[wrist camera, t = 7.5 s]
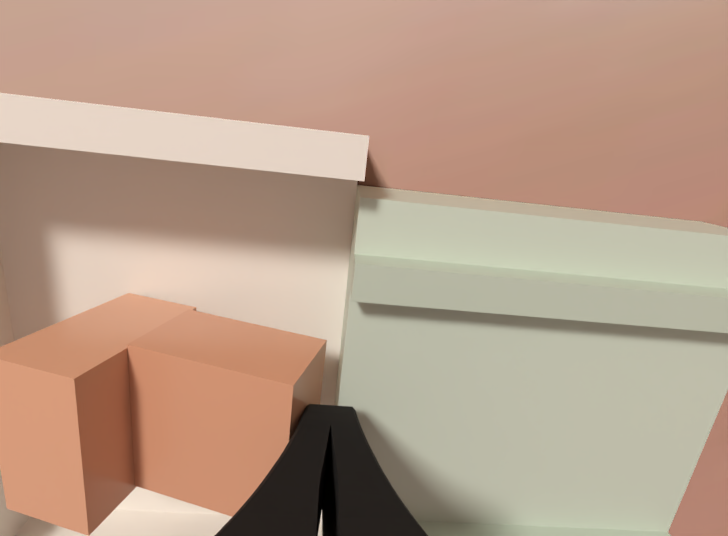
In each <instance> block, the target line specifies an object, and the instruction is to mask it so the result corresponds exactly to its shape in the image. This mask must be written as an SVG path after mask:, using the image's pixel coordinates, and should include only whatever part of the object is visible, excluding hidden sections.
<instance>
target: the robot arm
mask: <svg viewBox="0 0 728 536" xmlns="http://www.w3.org/2000/svg"><path fill="white" fill-rule="evenodd" d="M321 511H322V531H323V536H428V535H427V534H426V532H425V531H424V530H423V529H422V527H421V526H420V525H419V523H418V522H417V521H416V520H415V518H414V517H413V516H412V514H411V513H410V512H409V510H408V509H407V507H406V506H405V505H404V503H403V502H402V500H401V499H400V497H399V496H398V494H397V493H396V491H395V490H394V488H393V487H392V485H391V483H390V482H389V480H388V478H387V477H386V475H385V473H384V472H383V470H382V468H381V466H380V465H379V463H378V461H377V459H376V457H375V455H374V453H373V451H372V449H371V447H370V445H369V443H368V441H367V439H366V437H365V434H364V432H363V430H362V427H361V425H360V422H359V419H358V416H357V413H356V410H355V409H354V408H353V407H351V406H335V405H320V404H309V405H307V406H306V408H305V409H304V412H303V415H302V418H301V420H300V422H299V424H298V426H297V428H296V430H295V432H294V434H293V436H292V437H291V439H290V441H289V442H288V444H287V446H286V447H285V449H284V451H283V452H282V454H281V455H280V457H279V458H278V460H277V461H276V463H275V464H274V466H273V467H272V468H271V470H270V471H269V473H268V474H267V476H266V477H265V478H264V480H263V481H262V482H261V484H260V485H259V486H258V488H257V489H256V490H255V491H254V493H253V494H252V495H251V496H250V497H249V499H248V500H247V501H246V502H245V503H244V504H243V506H242V507H241V508H240V509H239V510H238V511H237V512H236V513H235V515H234V516H233V517H232V518H231V519H230V520H229V521H228V522H227V523H226V524H225V525H224V526H223V527H222V528H221V530H220V531H219V532H218V533H217V534H216V535H215V536H318V531H319V524H320V518H321Z"/></svg>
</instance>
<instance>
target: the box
mask: <svg viewBox="0 0 728 536" xmlns="http://www.w3.org/2000/svg"><path fill="white" fill-rule="evenodd" d="M368 144H369V136H367V135H358V134H349V133H341V132H332V131H324V130H315V129H306V128H298V127H289V126H281V125H272V124H263V123H255V122H246V121H238V120H229V119H220V118H212V117H203V116H195V115H186V114H177V113H169V112H160V111H152V110H143V109H134V108H126V107H117V106H108V105H100V104H91V103H83V102H74V101H65V100H57V99H48V98H40V97H31V96H22V95H14V94H5V93H0V347H1V346H4V345H6V344H8V343H11V342H13V341H16V340H18V339H20V338H23V337H25V336H27V335H30V334H32V333H35V332H37V331H39V330H42V329H44V328H46V327H49V326H51V325H53V324H56V323H58V322H61V321H63V320H65V319H68V318H70V317H72V316H75V315H77V314H80V313H82V312H84V311H87V310H89V309H91V308H94V307H96V306H99V305H101V304H103V303H106V302H108V301H110V300H113V299H115V298H117V297H120V296H122V295H125V294H127V293H132V294H136V295H141V296H146V297H150V298H155V299H160V300H164V301H169V302H174V303H179V304H183V305H188V306H193V307H196V311H199V312H203V313H208V314H212V315H217V316H221V317H226V318H230V319H235V320H239V321H243V322H248V323H252V324H257V325H261V326H266V327H270V328H275V329H279V330H284V331H288V332H293V333H297V334H302V335H306V336H311V337H315V338H320V339H324V340H327V343H326V353H325V363H324V372H323V382H322V391H321V401H320V405H334V403H335V394H336V384H337V374H338V365H339V355H340V345H341V336H342V326H343V316H344V307H345V297H346V288H347V278H348V268H349V259H350V249H351V239H352V230H353V220H354V210H355V201H356V191H357V182H358V181H364V180H365V171H366V162H367V153H368ZM231 518H232V517H231V516H228V515H225V514H222V513H219V512H216V511H212V510H209V509H206V508H203V507H200V506H197V505H194V504H191V503H187V502H184V501H181V500H178V499H175V498H172V497H169V496H166V495H162V494H159V493H156V492H153V491H150V490H147V489H144V488H140V487H136V488H135V489H134V490H133V491H132V492H131V493H130V494H129V495H128V496H127V497H126V498H125V499H124V500H123V501H122V502H121V503H120V504H119V505H118V506H117V507H116V508H115V509H114V511H113V512H112V513H111V514H110V515H109V516H108V517H107V518H106V519H105V520H104V521H103V522H102V523H101V524H100V525H99V526H98V527H97V528H96V529H95V530H94V531H93V532H92V533H91V534H90V535H89V536H215V535H216V534H217V533H218V532H219V531H220V530H221V528H222V527H223V526H224V525H225V524H226V523H227V522H228V521H229V520H230V519H231ZM0 536H87V535H84V534H81V533H78V532H75V531H72V530H69V529H66V528H63V527H60V526H57V525H54V524H51V523H49V522H46V521H43V520H40V519H37V518H34V517H31V516H28V515H25V514H22V513H19V512H16V511H13V510H10V509H7V507H6V500H5V494H4V488H3V482H2V476H1V470H0ZM318 536H322V511H321V518H320V524H319V531H318Z"/></svg>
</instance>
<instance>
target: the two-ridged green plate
mask: <svg viewBox="0 0 728 536" xmlns="http://www.w3.org/2000/svg"><path fill="white" fill-rule="evenodd" d="M727 390H728V228H727V227H722V226H718V225H714V224H709V223H705V222H701V221H691V220H682V219H673V218H663V217H654V216H644V215H635V214H626V213H616V212H607V211H598V210H588V209H579V208H569V207H560V206H551V205H541V204H532V203H523V202H513V201H504V200H494V199H485V198H476V197H466V196H457V195H448V194H438V193H429V192H419V191H410V190H401V189H391V188H382V187H373V186H363V185H357V191H356V201H355V210H354V220H353V230H352V239H351V249H350V259H349V268H348V278H347V288H346V297H345V307H344V316H343V326H342V336H341V345H340V355H339V365H338V374H337V384H336V394H335V403H334V405H335V406H351V407H353V408H354V409H355V410H356V413H357V416H358V419H359V422H360V425H361V427H362V430H363V432H364V434H365V437H366V439H367V441H368V443H369V445H370V447H371V449H372V451H373V453H374V455H375V457H376V459H377V461H378V463H379V465H380V466H381V468H382V470H383V472H384V473H385V475H386V477H387V478H388V480H389V482H390V483H391V485H392V487H393V488H394V490H395V491H396V493H397V494H398V496H399V497H400V499H401V500H402V502H403V503H404V505H405V506H406V507H407V509H408V510H409V512H410V513H411V514H412V516H413V517H414V518H415V520H416V521H417V522H418V523H419V525H420V526H421V527H422V529H423V530H424V531H425V532H426V534H427V535H428V536H671V535H670V534H669V533H668V531H669V528H670V526H671V523H672V521H673V519H674V516H675V514H676V511H677V509H678V507H679V504H680V502H681V500H682V497H683V495H684V492H685V490H686V488H687V485H688V483H689V481H690V478H691V476H692V473H693V471H694V469H695V466H696V464H697V462H698V459H699V457H700V454H701V452H702V450H703V447H704V445H705V443H706V440H707V438H708V435H709V433H710V431H711V428H712V426H713V424H714V421H715V419H716V416H717V414H718V412H719V409H720V407H721V404H722V402H723V400H724V397H725V395H726V393H727ZM322 536H323V531H322Z"/></svg>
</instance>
